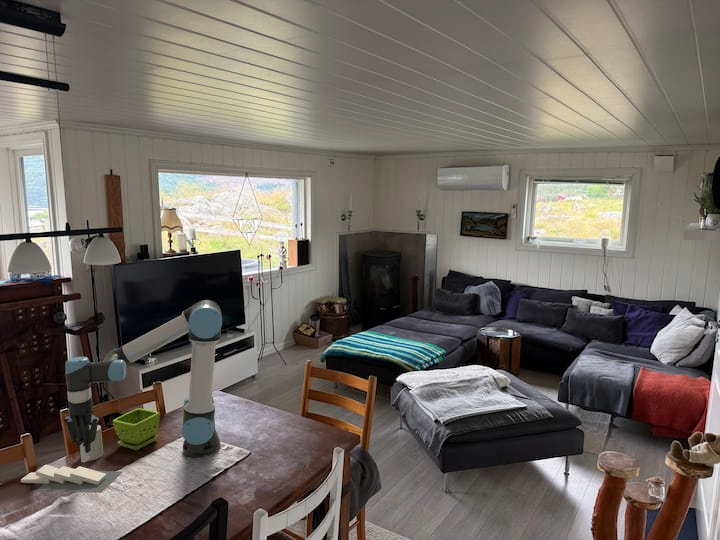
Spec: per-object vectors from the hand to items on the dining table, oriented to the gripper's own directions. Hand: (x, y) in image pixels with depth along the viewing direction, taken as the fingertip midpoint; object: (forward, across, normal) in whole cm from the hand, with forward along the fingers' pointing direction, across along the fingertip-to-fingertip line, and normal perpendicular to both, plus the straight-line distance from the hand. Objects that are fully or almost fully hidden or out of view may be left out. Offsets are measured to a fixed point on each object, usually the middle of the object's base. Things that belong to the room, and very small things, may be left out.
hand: (85, 460), depth 183 cm
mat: (+9, +3, 0) cm, 9 cm away
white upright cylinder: (+9, +10, -18) cm, 23 cm away
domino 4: (+7, -6, 0) cm, 9 cm away
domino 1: (+8, +14, 0) cm, 16 cm away
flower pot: (+9, -3, -30) cm, 32 cm away
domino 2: (+8, +8, 0) cm, 11 cm away
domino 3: (+8, +1, 0) cm, 8 cm away
